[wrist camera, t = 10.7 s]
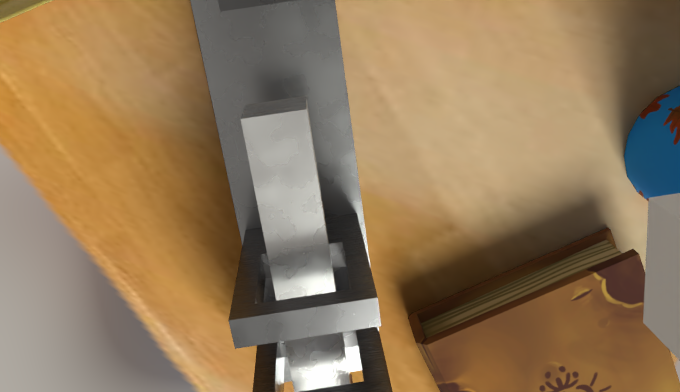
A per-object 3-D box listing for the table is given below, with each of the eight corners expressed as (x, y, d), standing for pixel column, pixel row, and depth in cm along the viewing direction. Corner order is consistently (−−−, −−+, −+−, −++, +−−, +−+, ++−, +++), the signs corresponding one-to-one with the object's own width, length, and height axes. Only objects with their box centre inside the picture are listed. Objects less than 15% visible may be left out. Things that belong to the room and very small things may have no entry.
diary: (406, 311, 55) (417, 348, 50) (604, 224, 54) (638, 253, 48) (493, 488, 63) (512, 537, 58) (669, 417, 61) (705, 460, 56)
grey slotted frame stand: (182, -49, 43) (127, -55, 29) (324, -70, 43) (339, -85, 29) (272, 377, 56) (264, 515, 42) (382, 360, 56) (410, 492, 42)
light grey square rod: (243, 104, 41) (237, 120, 37) (308, 94, 41) (309, 109, 37) (304, 418, 50) (305, 458, 46) (357, 410, 50) (362, 449, 46)
